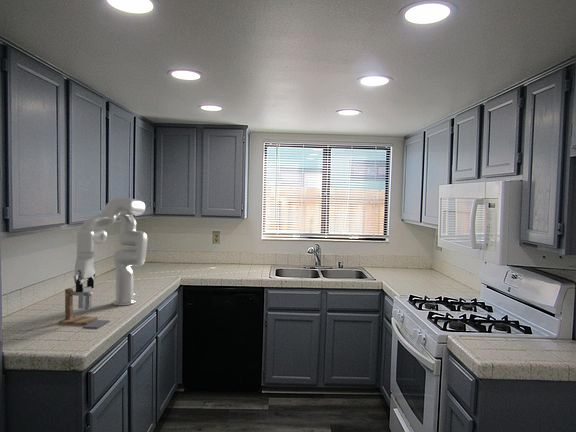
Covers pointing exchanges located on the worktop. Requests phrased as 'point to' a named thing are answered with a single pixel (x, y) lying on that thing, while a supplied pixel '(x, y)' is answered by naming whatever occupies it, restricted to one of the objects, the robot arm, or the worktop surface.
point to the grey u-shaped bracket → (85, 298)
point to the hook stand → (69, 310)
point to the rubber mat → (96, 324)
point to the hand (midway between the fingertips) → (84, 290)
